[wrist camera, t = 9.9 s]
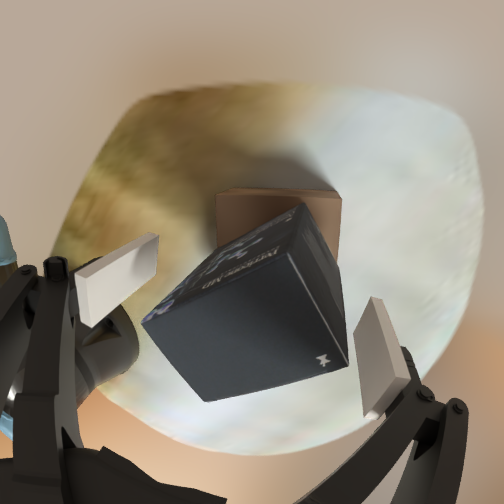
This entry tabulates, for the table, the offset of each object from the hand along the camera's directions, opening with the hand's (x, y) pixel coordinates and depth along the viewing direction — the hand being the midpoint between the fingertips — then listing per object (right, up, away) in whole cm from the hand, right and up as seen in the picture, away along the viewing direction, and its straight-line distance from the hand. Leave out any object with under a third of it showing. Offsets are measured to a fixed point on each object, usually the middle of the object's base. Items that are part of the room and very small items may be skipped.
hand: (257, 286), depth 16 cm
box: (+2, +2, +5) cm, 5 cm away
